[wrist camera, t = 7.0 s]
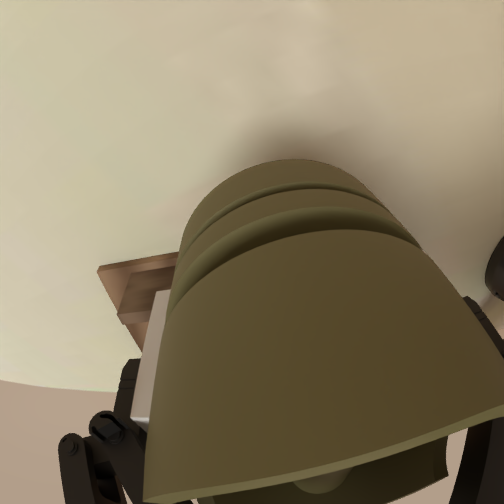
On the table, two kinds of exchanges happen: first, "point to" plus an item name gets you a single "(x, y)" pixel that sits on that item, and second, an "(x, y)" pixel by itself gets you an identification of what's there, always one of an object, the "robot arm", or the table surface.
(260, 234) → the piston
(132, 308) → the roll stand
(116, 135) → the table surface
